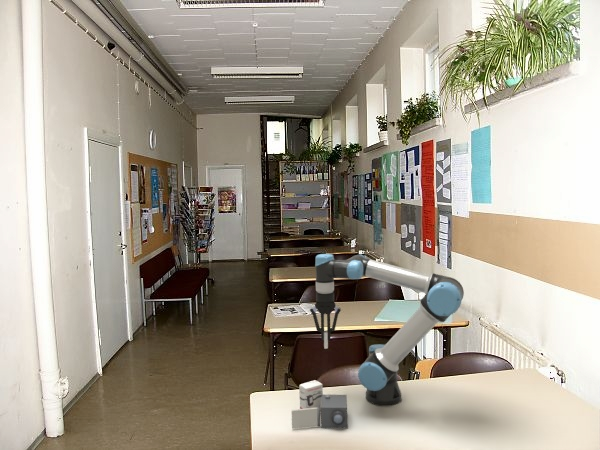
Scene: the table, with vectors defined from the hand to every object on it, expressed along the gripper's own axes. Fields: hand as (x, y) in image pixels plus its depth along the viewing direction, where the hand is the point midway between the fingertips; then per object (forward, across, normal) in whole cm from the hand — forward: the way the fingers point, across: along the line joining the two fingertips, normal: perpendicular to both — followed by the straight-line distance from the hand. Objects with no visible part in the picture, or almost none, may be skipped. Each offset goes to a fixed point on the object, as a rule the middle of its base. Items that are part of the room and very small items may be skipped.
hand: (326, 347), depth 211 cm
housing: (+24, -3, +15) cm, 29 cm away
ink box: (+25, +6, +7) cm, 26 cm away
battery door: (+24, +8, +21) cm, 33 cm away
